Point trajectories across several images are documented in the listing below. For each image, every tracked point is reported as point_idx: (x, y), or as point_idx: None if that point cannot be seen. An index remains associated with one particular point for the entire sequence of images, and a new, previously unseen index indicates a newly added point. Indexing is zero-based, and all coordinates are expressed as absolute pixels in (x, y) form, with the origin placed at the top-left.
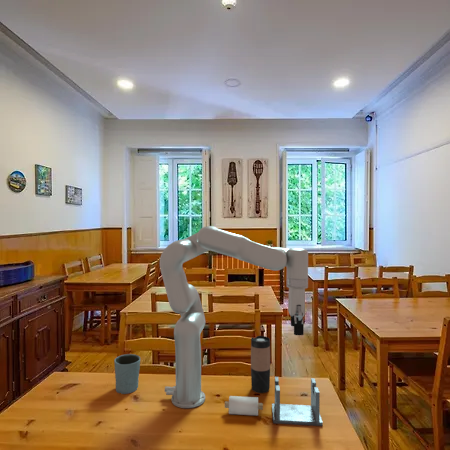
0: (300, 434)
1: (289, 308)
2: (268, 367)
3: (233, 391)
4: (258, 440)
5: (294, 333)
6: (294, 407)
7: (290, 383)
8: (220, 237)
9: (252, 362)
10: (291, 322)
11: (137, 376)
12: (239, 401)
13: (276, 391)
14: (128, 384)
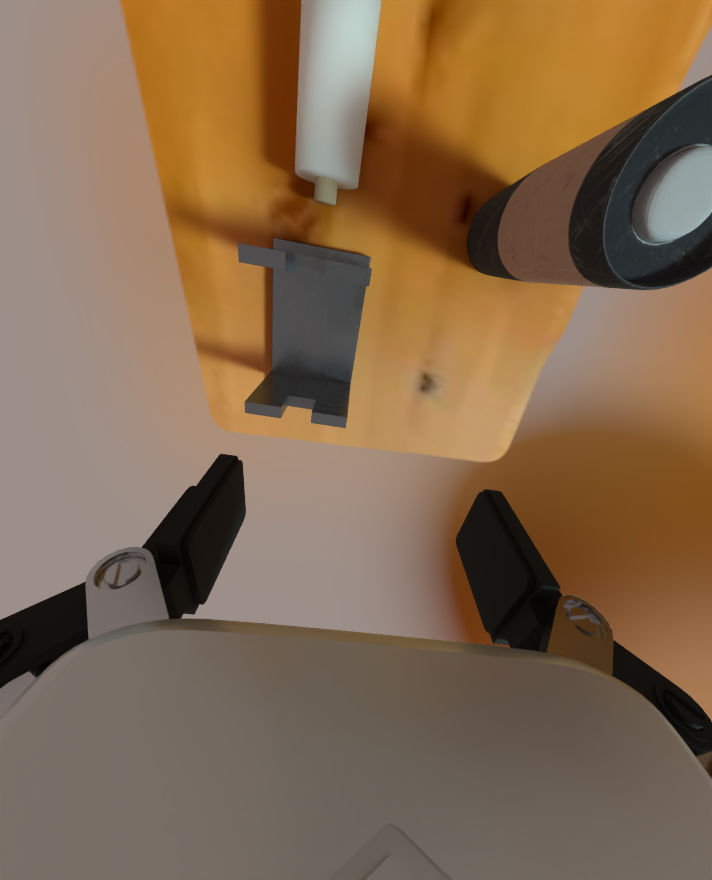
0: (232, 314)
1: (251, 856)
2: (509, 266)
3: (519, 74)
4: (178, 156)
5: (218, 462)
6: (343, 332)
7: (502, 362)
8: None
9: (566, 152)
10: (494, 516)
11: None
12: (309, 47)
13: (239, 244)
14: None
